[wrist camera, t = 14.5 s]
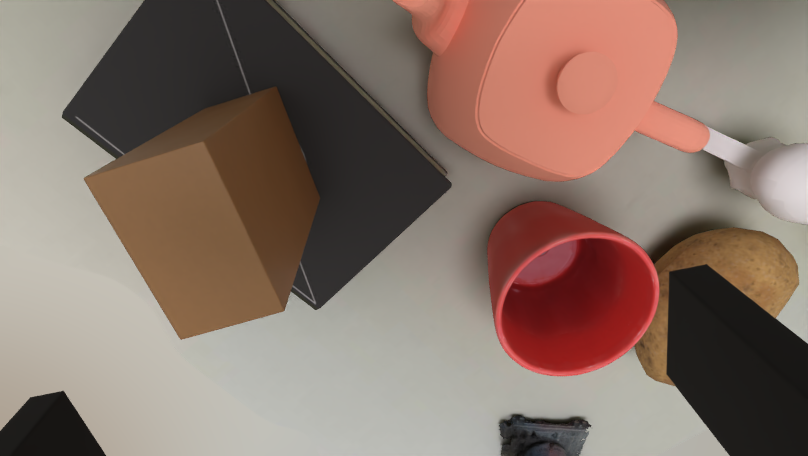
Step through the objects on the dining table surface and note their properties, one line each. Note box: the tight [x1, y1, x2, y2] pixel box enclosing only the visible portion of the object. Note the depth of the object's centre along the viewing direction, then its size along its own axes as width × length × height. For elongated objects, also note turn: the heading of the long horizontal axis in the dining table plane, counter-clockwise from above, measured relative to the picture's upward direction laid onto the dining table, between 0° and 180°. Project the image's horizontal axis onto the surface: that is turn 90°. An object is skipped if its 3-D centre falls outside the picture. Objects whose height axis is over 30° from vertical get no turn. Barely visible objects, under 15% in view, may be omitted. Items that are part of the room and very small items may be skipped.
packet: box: [84, 86, 320, 340], centre depth 26 cm, size 8×5×14 cm, turn 16°
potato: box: [634, 227, 799, 386], centre depth 38 cm, size 10×14×8 cm
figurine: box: [703, 127, 808, 224], centre depth 32 cm, size 12×5×11 cm, turn 63°
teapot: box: [393, 0, 710, 182], centre depth 28 cm, size 13×20×12 cm, turn 66°
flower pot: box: [487, 201, 659, 376], centre depth 35 cm, size 11×11×10 cm
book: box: [62, 0, 452, 310], centre depth 34 cm, size 22×15×3 cm
